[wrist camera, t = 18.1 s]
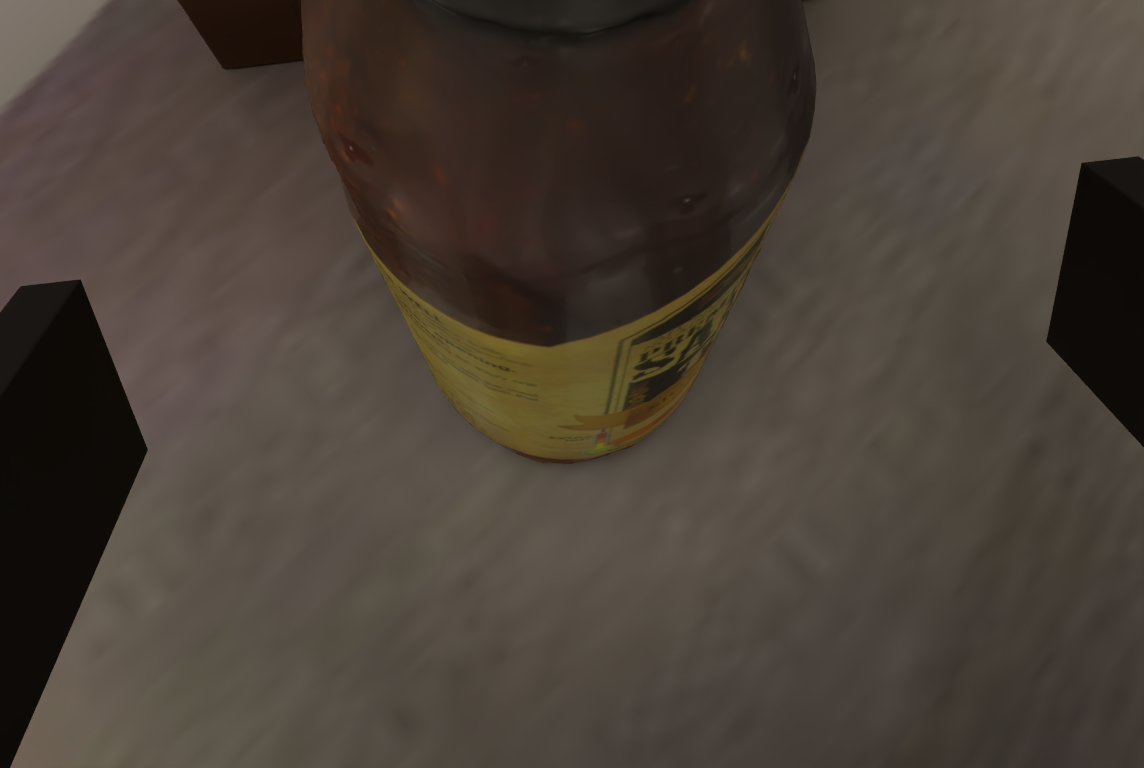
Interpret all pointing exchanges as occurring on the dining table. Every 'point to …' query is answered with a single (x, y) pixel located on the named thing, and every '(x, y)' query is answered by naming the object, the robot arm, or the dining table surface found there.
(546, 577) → the dining table surface
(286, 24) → the wooden step stool
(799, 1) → the sauce bottle
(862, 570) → the dining table surface
